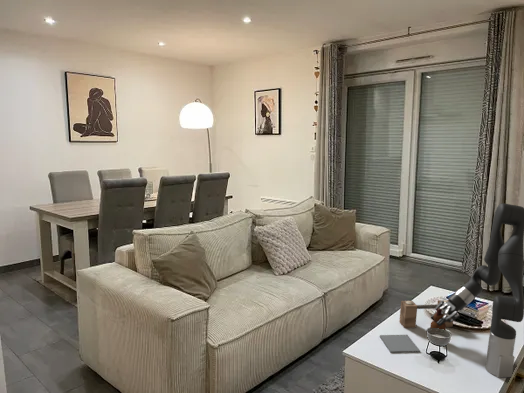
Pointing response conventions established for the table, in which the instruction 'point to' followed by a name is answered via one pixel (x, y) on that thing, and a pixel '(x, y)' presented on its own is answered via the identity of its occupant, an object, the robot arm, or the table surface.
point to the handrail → (415, 313)
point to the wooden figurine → (436, 318)
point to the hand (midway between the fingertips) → (435, 321)
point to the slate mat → (399, 343)
